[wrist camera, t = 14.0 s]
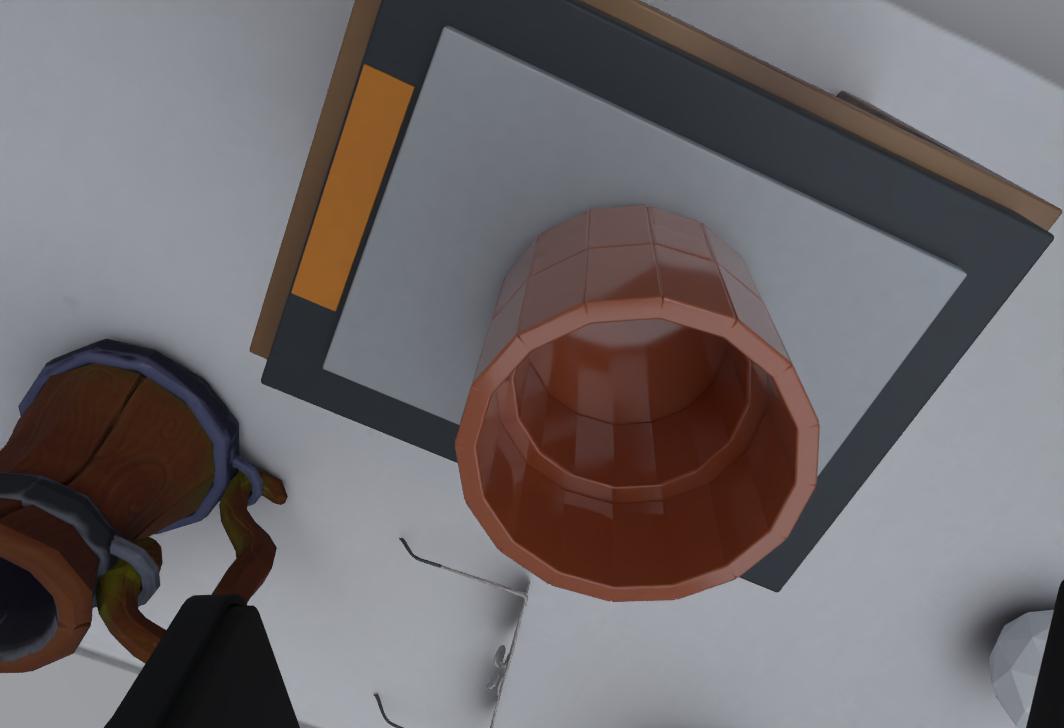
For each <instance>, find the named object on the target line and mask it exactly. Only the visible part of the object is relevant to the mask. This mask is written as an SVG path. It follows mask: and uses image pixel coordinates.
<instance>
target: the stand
mask: <svg viewBox="0 0 1064 728" xmlns="http://www.w3.org/2000/svg"><path fill="white" fill-rule="evenodd" d="M582 1H584V2H586V3H588V4H590V5H592V6H594V7H596V8H598V9H600V10H602V11H604V12H606V13H608V14H610V15H612V16H614V17H617V18H619V19H621V20H623V21H625V22H627V23H629V24H631V25H633V26H635V27H637V28H639V29H641V30H643V31H645V32H647V33H649V34H651V35H654V36H656V37H658V38H660V39H662V40H664V41H666V42H668V43H670V44H672V45H674V46H676V47H678V48H680V49H682V50H684V51H686V52H688V53H690V54H693V55H695V56H697V57H699V58H701V59H703V60H705V61H707V62H709V63H711V64H713V65H715V66H717V67H719V68H721V69H723V70H725V71H727V72H730V73H732V74H734V75H736V76H738V77H740V78H742V79H744V80H746V81H748V82H750V83H752V84H754V85H756V86H758V87H760V88H762V89H764V90H767V91H769V92H771V93H773V94H775V95H777V96H779V97H781V98H783V99H785V100H787V101H789V102H791V103H793V104H795V105H797V106H799V107H801V108H804V109H806V110H808V111H810V112H812V113H814V114H816V115H818V116H820V117H822V118H824V119H826V120H828V121H830V122H832V123H834V124H836V125H838V126H841V127H843V128H845V129H847V130H849V131H851V132H853V133H855V134H857V135H859V136H861V137H863V138H865V139H867V140H869V141H871V142H873V143H875V144H878V145H880V146H882V147H884V148H886V149H888V150H890V151H892V152H894V153H896V154H898V155H900V156H902V157H904V158H906V159H908V160H910V161H912V162H915V163H917V164H919V165H921V166H923V167H925V168H927V169H929V170H931V171H933V172H935V173H937V174H939V175H941V176H943V177H945V178H947V179H949V180H952V181H954V182H956V183H958V184H960V185H962V186H964V187H966V188H968V189H970V190H972V191H974V192H976V193H978V194H980V195H982V196H984V197H986V198H988V199H991V200H993V201H995V202H997V203H999V204H1001V205H1003V206H1005V207H1007V208H1009V209H1011V210H1013V211H1015V212H1017V213H1019V214H1020V215H1022V216H1024V217H1025V218H1027V219H1028V220H1030V221H1032V222H1033V223H1035V224H1036V225H1038V226H1040V227H1041V228H1043V229H1045V230H1046V231H1048V230H1049V229H1050V228H1051V226H1052V225H1053V224H1054V223H1055V221H1056V220H1057V219H1058V217H1059V216H1060V215H1061V214H1062V210H1061V209H1060V208H1058V207H1056V206H1054V205H1052V204H1051V203H1049V202H1047V201H1045V200H1043V199H1042V198H1040V197H1038V196H1036V195H1034V194H1033V193H1031V192H1029V191H1027V190H1025V189H1023V188H1022V187H1020V186H1018V185H1016V184H1014V183H1013V182H1011V181H1009V180H1007V179H1005V178H1004V177H1002V176H1000V175H998V174H996V173H994V172H993V171H991V170H989V169H987V168H985V167H984V166H982V165H980V164H978V163H976V162H975V161H973V160H971V159H969V158H967V157H966V156H964V155H962V154H960V153H958V152H956V151H955V150H953V149H951V148H949V147H947V146H946V145H944V144H942V143H940V142H938V141H937V140H935V139H933V138H931V137H929V136H927V135H926V134H924V133H922V132H920V131H918V130H917V129H915V128H913V127H911V126H909V125H908V124H906V123H904V122H902V121H900V120H899V119H897V118H895V117H893V116H891V115H889V114H888V113H886V112H884V111H882V110H880V109H879V108H877V107H875V106H873V105H871V104H869V103H867V102H865V101H863V100H861V99H859V98H857V97H855V96H853V95H851V94H849V93H847V92H845V91H842V92H840V94H839V96H838V97H836V96H834V95H832V94H830V93H828V92H826V91H824V90H822V89H819V88H817V87H815V86H813V85H811V84H809V83H807V82H805V81H803V80H801V79H799V78H797V77H795V76H793V75H791V74H789V73H787V72H785V71H783V70H781V69H779V68H777V67H775V66H773V65H771V64H769V63H767V62H765V61H762V60H760V59H758V58H756V57H754V56H752V55H750V54H748V53H746V52H744V51H742V50H740V49H738V48H736V47H734V46H732V45H730V44H728V43H726V42H724V41H722V40H720V39H718V38H716V37H714V36H712V35H710V34H707V33H705V32H703V31H701V30H699V29H697V28H695V27H693V26H691V25H689V24H687V23H685V22H683V21H681V20H679V19H677V18H675V17H673V16H671V15H669V14H667V13H665V12H663V11H661V10H659V9H657V8H655V7H653V6H650V5H648V4H646V3H644V2H642V1H640V0H582ZM380 3H381V0H355V3H354V6H353V9H352V13H351V16H350V19H349V23H348V26H347V29H346V32H345V36H344V39H343V42H342V46H341V49H340V52H339V56H338V59H337V62H336V65H335V69H334V72H333V75H332V79H331V82H330V85H329V89H328V92H327V95H326V98H325V102H324V105H323V108H322V112H321V115H320V118H319V122H318V125H317V128H316V131H315V135H314V138H313V141H312V145H311V148H310V151H309V154H308V158H307V161H306V164H305V168H304V171H303V174H302V178H301V181H300V184H299V187H298V191H297V194H296V197H295V201H294V204H293V207H292V211H291V214H290V217H289V220H288V224H287V227H286V230H285V234H284V237H283V240H282V244H281V247H280V250H279V253H278V257H277V260H276V263H275V267H274V270H273V273H272V277H271V280H270V283H269V286H268V290H267V293H266V296H265V300H264V303H263V306H262V310H261V313H260V316H259V319H258V323H257V326H256V329H255V333H254V336H253V339H252V343H251V346H250V352H251V353H254V354H256V355H259V356H261V357H264V358H266V359H268V356H269V353H270V350H271V347H272V344H273V340H274V337H275V334H276V331H277V328H278V325H279V321H280V318H281V315H282V312H283V309H284V306H285V303H286V299H287V296H288V293H289V290H290V287H291V284H292V280H293V277H294V274H295V271H296V268H297V265H298V262H299V258H300V255H301V252H302V249H303V246H304V243H305V240H306V236H307V233H308V230H309V227H310V224H311V221H312V217H313V214H314V211H315V208H316V205H317V202H318V199H319V195H320V192H321V189H322V186H323V183H324V180H325V176H326V173H327V170H328V167H329V164H330V161H331V158H332V154H333V151H334V148H335V145H336V142H337V139H338V135H339V132H340V129H341V126H342V123H343V120H344V117H345V113H346V110H347V107H348V104H349V101H350V98H351V94H352V91H353V88H354V85H355V82H356V79H357V76H358V72H359V69H360V66H361V63H362V60H363V57H364V54H365V50H366V47H367V44H368V41H369V38H370V35H371V31H372V28H373V25H374V22H375V19H376V16H377V13H378V9H379V6H380Z"/></svg>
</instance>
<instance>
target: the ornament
mask: <svg viewBox="0 0 1064 728" xmlns="http://www.w3.org/2000/svg"><path fill="white" fill-rule="evenodd" d="M1053 612H1054V610H1046V611H1036V612H1027V613H1025V614H1024V615H1022V616H1020V617H1018V618H1017V619H1015V620H1013V621H1011V622H1010V623H1008V624H1006V625H1004V627H1003V629H1002V631H1001V633H1000V635H999V638H998V640H997V642H996V644H995V646H994V649H993V651H992V653H991V655H990V658H989V661H990V670H991V678H992V685H993V688H994V691H995V694H996V697H997V699H998V700H999V702H1000V703H1001V705H1002V706H1003V708H1004V709H1005V711H1006V712H1007V714H1008V715H1009V717H1010V718H1011V720H1012V721H1013V723H1014V724H1015V726H1016V727H1018V728H1026V726H1027V721H1028V717H1029V713H1030V709H1031V704H1032V700H1033V696H1034V692H1035V688H1036V683H1037V679H1038V675H1039V671H1040V667H1041V662H1042V658H1043V654H1044V650H1045V645H1046V641H1047V637H1048V633H1049V629H1050V624H1051V620H1052V616H1053Z"/></svg>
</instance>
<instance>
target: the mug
mask: <svg viewBox="0 0 1064 728" xmlns="http://www.w3.org/2000/svg"><path fill="white" fill-rule="evenodd" d="M18 407H19V411H20V415H21V418H20V419H19V420H18V422H17V425H16V427H15V429H14V431H13V433H12V435H11V437H10V439H9V441H8V443H7V445H6V446H5V447H4V448H3V449H2V450H1V451H0V673H23V672H29V671H34V670H36V669H38V668H41V667H43V666H45V665H48V664H50V663H52V662H55V661H57V660H59V659H62V658H64V657H66V656H68V655H71V654H73V653H74V652H75V650H76V649H77V647H78V646H79V644H80V642H81V641H82V639H83V637H84V636H85V634H86V633H87V631H88V629H89V628H90V626H91V622H92V609H93V608H94V607H98V611H99V615H100V616H101V618H102V620H103V621H104V623H105V625H106V626H107V628H108V630H109V631H110V633H111V634H112V635H113V636H114V637H115V638H116V639H117V640H118V641H119V642H120V644H121V645H122V646H124V647H125V648H126V649H127V650H128V651H129V652H130V653H131V654H132V655H133V656H134V657H136V658H138V659H139V660H141V661H142V662H144V663H145V664H146V662H147V661H148V659H149V658H150V656H151V654H152V653H153V651H154V650H155V648H156V646H157V645H158V643H159V642H160V640H161V638H162V637H163V635H164V634H165V632H166V630H165V629H163V628H161V627H160V626H158V625H156V624H155V623H153V622H152V621H150V620H148V619H147V618H145V616H144V615H143V614H142V613H141V612H140V611H139V610H138V606H141V605H144V604H146V603H147V601H148V600H149V599H150V598H151V597H152V595H153V594H154V593H155V592H156V590H157V589H158V588H159V587H160V576H159V572H160V569H161V566H162V551H161V546H160V545H159V544H158V543H157V541H156V540H154V539H152V538H150V537H149V536H151V535H153V534H159V533H162V532H166V531H169V530H172V529H175V528H179V527H182V526H185V525H188V524H192V523H195V522H198V521H201V520H203V519H204V518H205V517H207V516H208V515H209V513H210V512H211V511H212V509H213V508H214V507H215V506H216V504H217V503H218V502H219V501H221V502H220V504H219V506H220V515H221V522H222V524H223V526H224V528H225V530H226V533H227V535H228V537H229V539H230V541H231V543H232V545H233V547H234V549H235V551H236V558H237V559H236V560H235V561H234V562H233V564H232V565H231V566H230V567H229V568H228V570H227V571H226V573H225V574H224V576H223V578H222V579H221V581H220V582H219V584H218V585H217V587H216V589H215V590H214V592H213V593H212V595H224V594H239V595H240V596H241V597H243V598H244V600H245V602H246V604H247V603H248V601H249V599H250V598H251V597H252V596H253V594H254V593H255V592H256V591H257V590H258V588H259V587H260V586H261V585H262V584H263V582H264V581H265V579H266V577H267V576H268V574H269V572H270V570H271V569H272V566H273V561H274V557H275V553H276V549H277V547H276V546H275V544H274V543H273V541H272V539H271V538H270V536H269V535H268V534H267V533H266V532H265V531H264V530H263V529H262V528H261V527H260V526H259V525H258V524H257V523H256V522H255V521H254V519H253V518H252V516H251V515H250V513H249V512H248V510H247V506H250V505H253V504H255V503H256V502H257V500H258V499H259V498H260V497H261V496H264V497H266V498H267V499H269V500H270V501H272V502H273V503H275V504H279V505H282V504H284V503H285V502H286V499H287V497H288V496H287V493H286V491H285V488H284V485H283V483H282V480H280V479H277V478H275V477H273V476H271V475H269V474H267V473H264V472H262V471H259V470H257V469H256V468H254V467H253V466H252V465H250V464H249V463H248V462H247V461H245V460H244V459H242V458H241V457H239V427H238V422H237V421H236V420H235V418H234V417H233V416H232V415H231V413H230V412H229V411H228V410H227V408H226V407H225V406H224V405H223V403H222V402H221V401H220V400H219V398H218V397H217V396H216V395H215V393H214V392H213V391H212V389H211V388H210V387H209V385H208V384H207V383H206V381H205V380H203V379H202V378H200V377H198V376H197V375H195V374H193V373H192V372H190V371H188V370H187V369H185V368H183V367H182V366H180V365H178V364H177V363H175V362H173V361H172V360H170V359H168V358H166V357H165V356H163V355H161V354H160V353H158V352H156V351H154V350H150V349H146V348H142V347H138V346H134V345H129V344H125V343H121V342H117V341H113V340H109V339H105V340H102V341H99V342H96V343H94V344H91V345H88V346H86V347H83V348H81V349H78V350H75V351H73V352H70V353H68V354H65V355H62V356H60V357H57V358H55V359H53V360H51V361H50V362H48V363H47V364H46V365H45V367H44V368H43V370H42V371H41V373H40V374H39V376H38V377H37V379H36V380H35V382H34V383H33V385H32V386H31V388H30V389H29V391H28V392H27V394H26V395H25V397H24V398H23V400H22V402H21V403H20V405H19V406H18Z"/></svg>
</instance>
